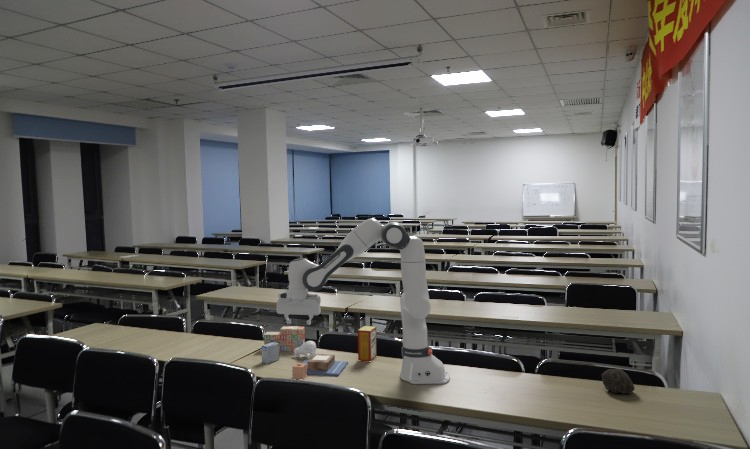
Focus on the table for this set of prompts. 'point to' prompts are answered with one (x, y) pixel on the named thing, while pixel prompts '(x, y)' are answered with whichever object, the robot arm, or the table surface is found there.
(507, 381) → the table surface
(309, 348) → the white animal figurine
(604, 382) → the rock
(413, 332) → the robot arm
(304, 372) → the snap block
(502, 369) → the table surface
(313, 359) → the board
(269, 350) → the medicine box
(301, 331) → the stack of blocks
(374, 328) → the baking soda box
